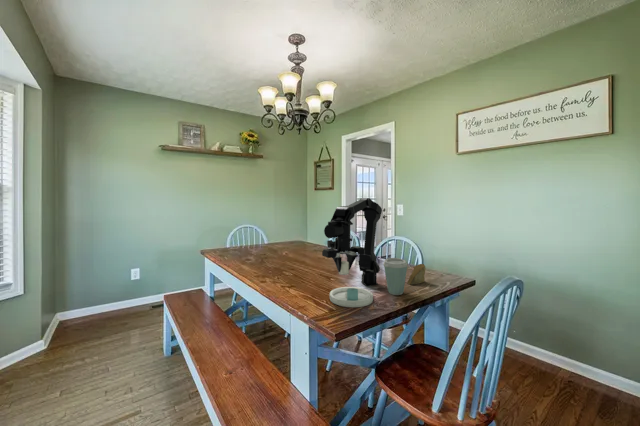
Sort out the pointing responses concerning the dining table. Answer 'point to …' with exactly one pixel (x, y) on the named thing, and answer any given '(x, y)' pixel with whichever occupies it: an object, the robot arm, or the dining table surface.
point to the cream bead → (344, 268)
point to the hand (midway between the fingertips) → (343, 271)
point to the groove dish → (340, 299)
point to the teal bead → (352, 294)
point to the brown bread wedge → (417, 275)
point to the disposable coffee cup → (395, 275)
